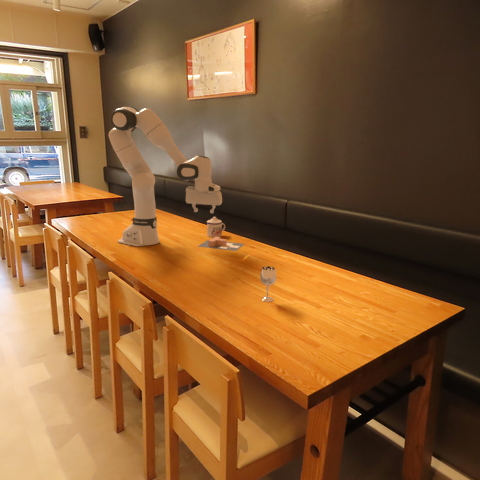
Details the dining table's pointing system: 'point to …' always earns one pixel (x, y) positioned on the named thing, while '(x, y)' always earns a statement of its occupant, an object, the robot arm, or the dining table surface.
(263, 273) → the wineglass
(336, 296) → the dining table surface
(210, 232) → the teacup with lid
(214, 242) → the t block
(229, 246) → the t mat
